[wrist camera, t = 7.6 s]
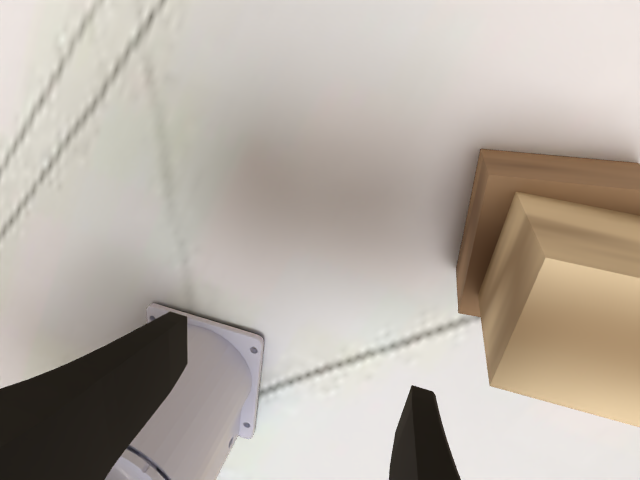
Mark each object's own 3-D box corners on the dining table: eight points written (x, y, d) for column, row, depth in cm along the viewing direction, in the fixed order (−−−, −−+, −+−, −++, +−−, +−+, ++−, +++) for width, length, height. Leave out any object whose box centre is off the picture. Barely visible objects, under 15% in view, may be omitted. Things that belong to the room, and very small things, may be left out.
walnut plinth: (588, 286, 20) (619, 340, 16) (456, 266, 21) (458, 313, 17) (635, 161, 17) (685, 194, 13) (480, 147, 18) (488, 174, 15)
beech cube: (597, 323, 16) (654, 431, 12) (477, 295, 17) (489, 385, 13) (655, 219, 14) (750, 302, 10) (515, 191, 15) (545, 257, 10)
